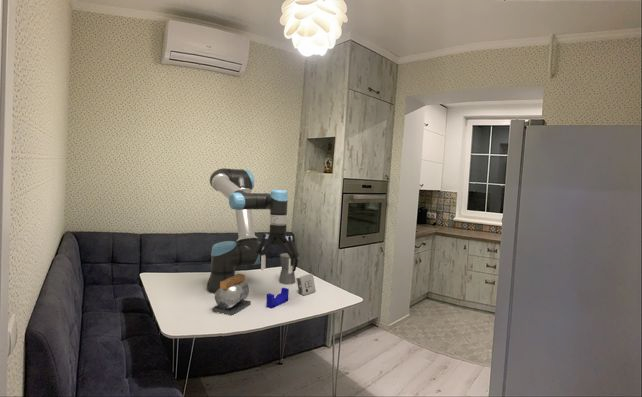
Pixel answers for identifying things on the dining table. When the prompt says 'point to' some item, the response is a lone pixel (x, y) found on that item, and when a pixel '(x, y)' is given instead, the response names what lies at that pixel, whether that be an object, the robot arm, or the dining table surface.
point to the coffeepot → (285, 276)
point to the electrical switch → (306, 284)
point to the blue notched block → (277, 298)
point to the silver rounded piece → (232, 295)
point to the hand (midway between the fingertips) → (276, 271)
